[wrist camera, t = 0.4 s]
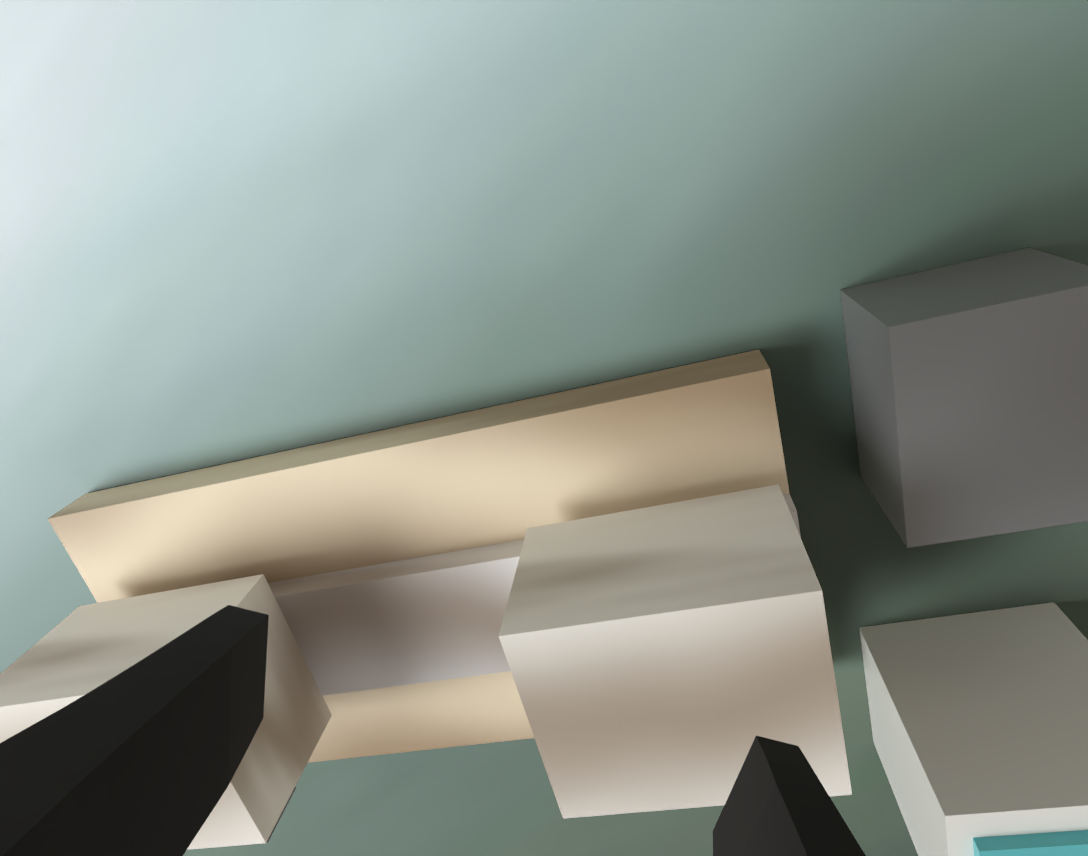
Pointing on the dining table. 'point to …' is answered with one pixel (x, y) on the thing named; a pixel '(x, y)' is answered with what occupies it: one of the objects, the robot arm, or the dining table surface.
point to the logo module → (984, 730)
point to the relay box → (973, 395)
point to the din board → (484, 595)
